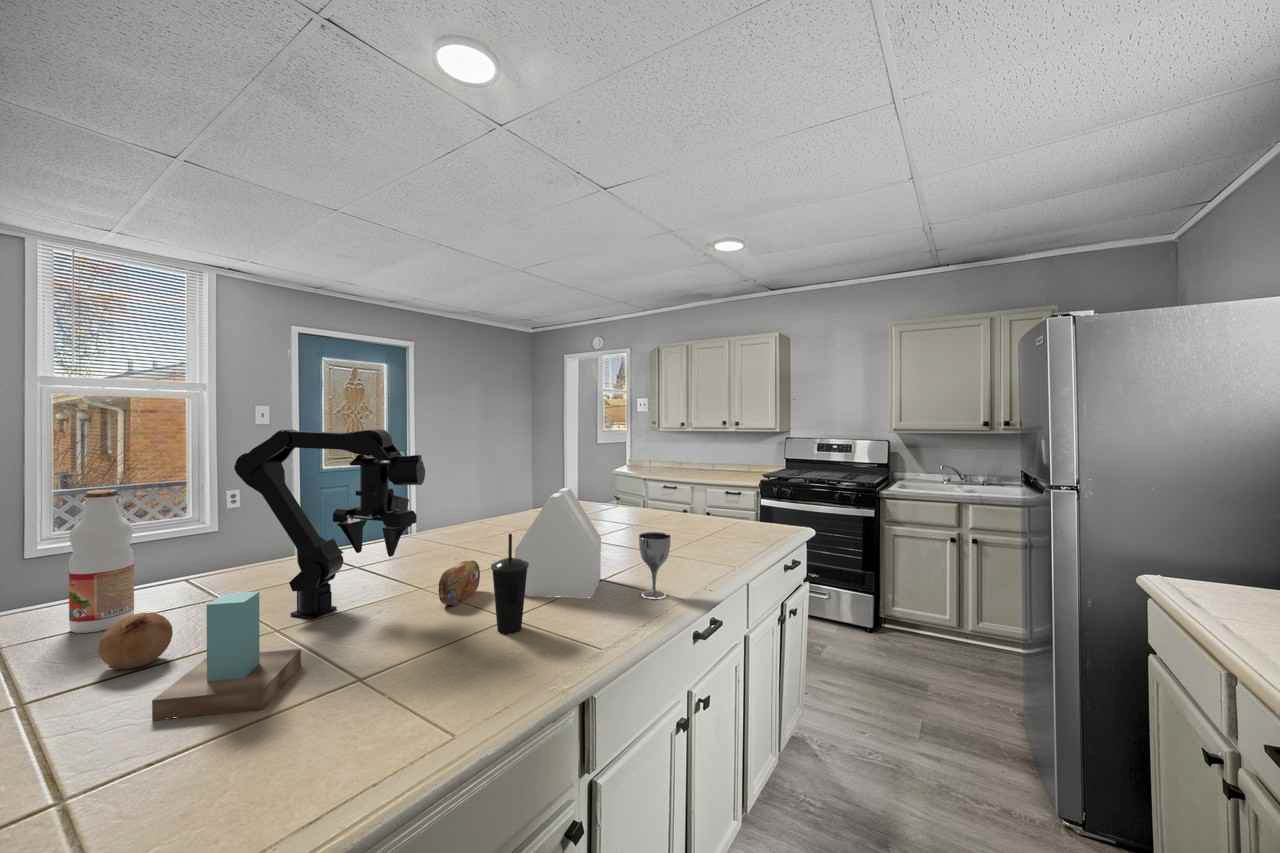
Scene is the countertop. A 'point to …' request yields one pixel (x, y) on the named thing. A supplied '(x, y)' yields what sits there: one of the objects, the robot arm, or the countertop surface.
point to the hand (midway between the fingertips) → (374, 554)
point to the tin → (459, 582)
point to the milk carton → (561, 550)
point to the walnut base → (227, 688)
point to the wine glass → (654, 555)
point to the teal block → (232, 636)
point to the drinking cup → (509, 591)
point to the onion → (135, 641)
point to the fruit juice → (100, 565)
